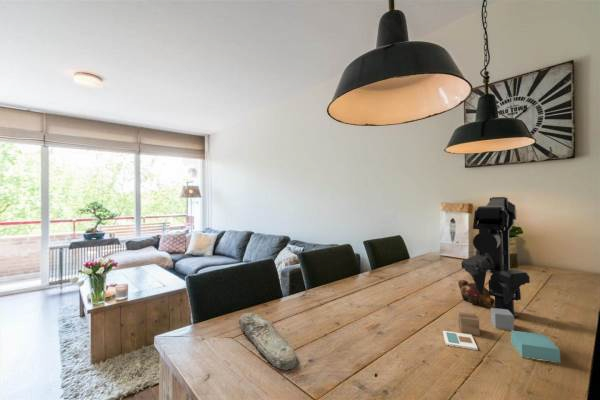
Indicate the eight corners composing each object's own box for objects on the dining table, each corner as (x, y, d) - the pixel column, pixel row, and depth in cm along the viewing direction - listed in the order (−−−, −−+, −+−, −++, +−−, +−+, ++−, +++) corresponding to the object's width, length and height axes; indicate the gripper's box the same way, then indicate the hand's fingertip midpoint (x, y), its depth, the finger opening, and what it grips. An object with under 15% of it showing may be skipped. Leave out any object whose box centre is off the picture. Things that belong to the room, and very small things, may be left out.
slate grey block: (491, 322, 92) (490, 307, 92) (508, 324, 91) (508, 309, 91) (495, 328, 88) (495, 313, 88) (514, 331, 86) (513, 315, 86)
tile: (442, 332, 86) (442, 330, 86) (471, 336, 83) (471, 334, 83) (446, 345, 79) (446, 342, 79) (477, 350, 76) (477, 347, 76)
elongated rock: (273, 383, 67) (306, 371, 72) (273, 362, 67) (307, 352, 72) (232, 322, 97) (257, 317, 102) (232, 308, 97) (258, 303, 102)
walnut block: (458, 326, 90) (458, 311, 90) (475, 328, 88) (475, 313, 88) (461, 333, 85) (460, 317, 85) (479, 335, 84) (479, 320, 84)
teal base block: (511, 343, 79) (511, 330, 79) (545, 348, 76) (545, 334, 76) (522, 358, 72) (521, 344, 72) (560, 364, 69) (559, 349, 69)
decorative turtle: (465, 294, 119) (466, 276, 118) (501, 309, 105) (502, 289, 104) (449, 296, 115) (450, 278, 115) (484, 312, 101) (486, 292, 101)
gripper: (446, 243, 89) (447, 289, 89) (494, 255, 71) (496, 313, 71) (475, 241, 91) (477, 287, 91) (530, 252, 72) (532, 309, 72)
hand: (492, 297), depth 81 cm, fingers open, 9 cm apart
